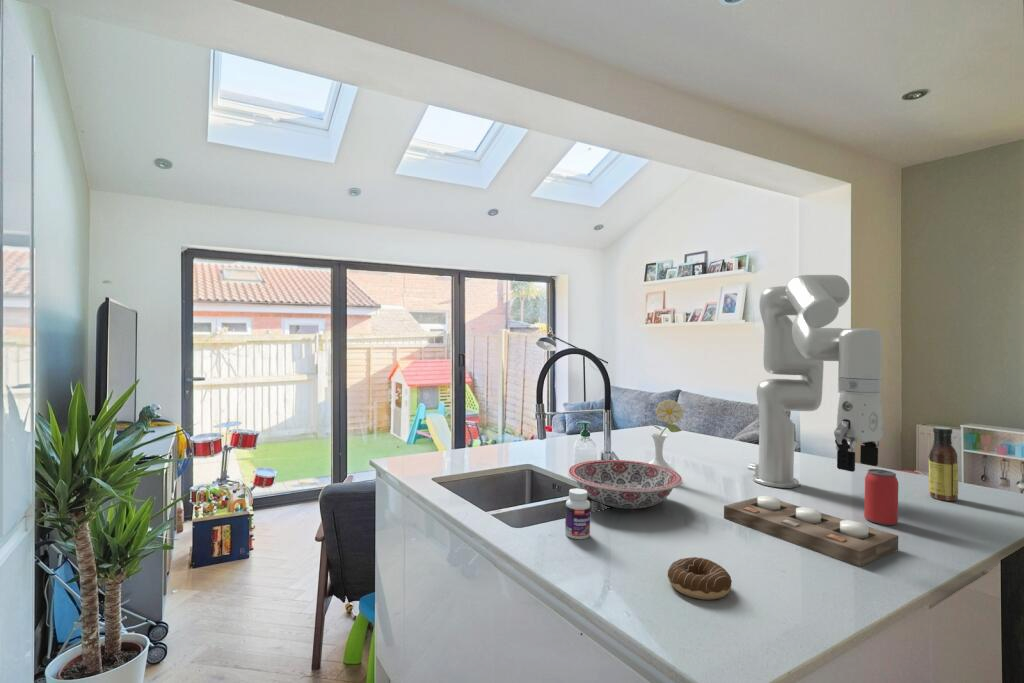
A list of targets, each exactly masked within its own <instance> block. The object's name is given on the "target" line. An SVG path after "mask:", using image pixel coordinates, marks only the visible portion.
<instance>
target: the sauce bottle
mask: <svg viewBox="0 0 1024 683" xmlns="http://www.w3.org/2000/svg"><path fill="white" fill-rule="evenodd" d="M932 429H933V431H932V432H933V444H932V447H931V450H930V452H929V454H928V491H929V495H930V497H931V498H933V499H936V500H939V501H943V500H945V501H946V502H956V501H958V499H959V466H958V465H959V462H958V453H957V451H956V449H955V448H954V447H953V444H952V443H953V441H952V434H953V428H951V427H948V426H946V427H945V426H934V427H932Z"/></svg>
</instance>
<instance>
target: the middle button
mask: <svg viewBox="0 0 1024 683" xmlns="http://www.w3.org/2000/svg"><path fill="white" fill-rule="evenodd" d="M821 513H822V512H821V511H820V510H819V509H815V508H811V507H805V506H800V507H799V508H796V519H797V520H800V521H803V522H806V523H811V524H819V523H821Z"/></svg>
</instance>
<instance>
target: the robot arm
mask: <svg viewBox="0 0 1024 683" xmlns="http://www.w3.org/2000/svg"><path fill="white" fill-rule="evenodd" d="M850 290H851V289H850V284H849V283H848V281H847V280H846V279H845V278H844V277H843V276H840V275H838V274H803V275H798V276H795V277H793V278H792V279H790V281H788V283H787V284H786V285H781V286H773V287H772V286H771V287H768V288H766V289H765V290H763V291H762V292H761V294H760V298H759V304H758V305H759V307H758V308H759V313H760V317H761V320H762V324H763V329H764V330H763V331H764V334H763V336H764V337H763V338H764V339H763V359H762V360H763V368H764V370H765V371H766V372H767V373H769V374H772V375H781V376H801V379H792V378H791V379H789V378H768V379H765V380H762V381H760V382H759V383H758V385H757V387H756V399H757V404H758V405H757V406H758V415H759V416H758V418H759V419H758V420H759V421H758V422H759V423H758V429H759V431H758V434H759V436H758V463H753V462H749V463H748V466H747V469H748V470H749V471H753V472H754V474H753V475H752V480H753V482H756V483H757V484H759V485H763V486H767V487H773V488H781V489H783V488H784V489H792V488H797V487H800V481H799V480H798V479H797V478H795V477H794V469H795V468H794V465H795V464H794V463H795V460H794V458H795V425H794V423H793V422H794V421H792V419H791V418H790V417H789V416H788V414H787V413H786V412H814V411H817V410H818V409H819V408H820V406H821V404H822V398H823V386H824V385H823V383H824V367H825V366H824V362H838V367H837V368H838V369H837V370H838V378H837V379H838V380H837V381H838V383H837V393H838V394H839V399H838V404H837V414H836V415H837V416H836V428H835V430H834V432H833V434H834V438H835V440H834V442H835V445H836V446H835V449H836V451H837V453H836V454H837V455H836V468H837V469H838V470H841V471H846V472H851V473H853V472H855V471H856V452H855V451H854V449H855V447H856V445H857V443H858V442H859V443H860V453H859V454H860V456H859V457H860V458H859V461H860V464H862V465H867V466H871V467H872V466H873V467H878V465H879V447H880V442H879V441H880V440H881V439H882V438H883V437H884V436H883V435H884V429H883V428H884V425H883V422H884V421H883V406H882V399H881V398H882V397H881V395H882V363H883V362H882V357H883V356H882V355H883V353H882V352H883V351H882V350H883V335H882V333H881V332H880V330H878V329H875V328H843V327H842V328H841V327H839V328H838V327H826V326H828V325H830V324H831V323H832V322H834V321H835V320H836V318H837V316H838V315H839V309H840V308H841V307H843V306H845V304H846V303H847V302H848V300H849V298H850ZM789 316H795V318H794V319H793V321H792V319H791V318H790V317H789ZM861 443H862V444H861Z"/></svg>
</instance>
